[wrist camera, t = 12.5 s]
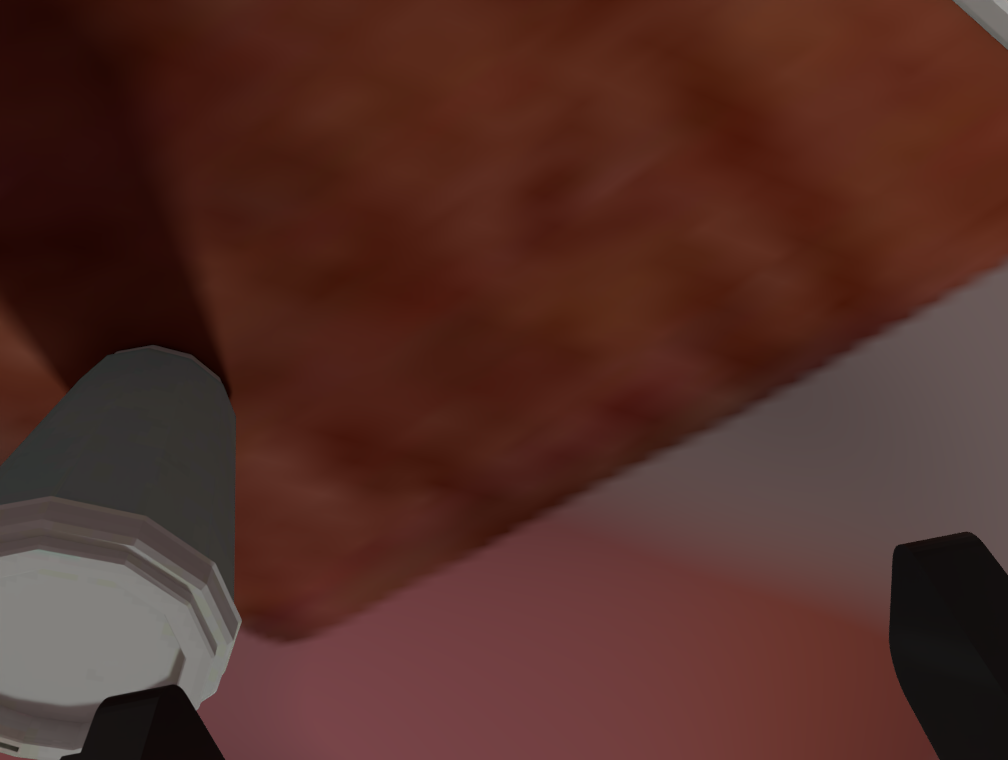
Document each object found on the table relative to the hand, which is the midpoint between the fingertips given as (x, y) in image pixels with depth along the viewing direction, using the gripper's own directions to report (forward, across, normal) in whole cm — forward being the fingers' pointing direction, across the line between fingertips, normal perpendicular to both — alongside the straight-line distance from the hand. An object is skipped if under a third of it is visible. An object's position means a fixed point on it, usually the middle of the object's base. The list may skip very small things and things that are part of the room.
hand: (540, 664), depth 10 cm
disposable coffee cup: (+28, +16, +12) cm, 35 cm away
